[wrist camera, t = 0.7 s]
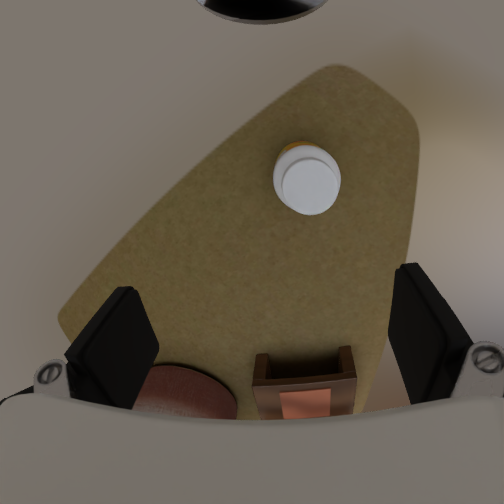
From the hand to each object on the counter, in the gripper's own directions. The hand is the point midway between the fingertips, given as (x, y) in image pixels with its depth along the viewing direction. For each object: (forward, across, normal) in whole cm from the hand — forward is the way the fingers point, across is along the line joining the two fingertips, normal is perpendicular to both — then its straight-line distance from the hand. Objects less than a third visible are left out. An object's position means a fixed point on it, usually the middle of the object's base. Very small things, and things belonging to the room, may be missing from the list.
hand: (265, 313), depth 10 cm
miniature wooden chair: (+21, -1, +29) cm, 36 cm away
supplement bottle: (+22, -3, -1) cm, 22 cm away
